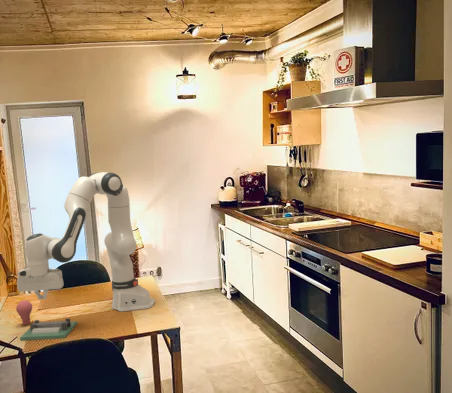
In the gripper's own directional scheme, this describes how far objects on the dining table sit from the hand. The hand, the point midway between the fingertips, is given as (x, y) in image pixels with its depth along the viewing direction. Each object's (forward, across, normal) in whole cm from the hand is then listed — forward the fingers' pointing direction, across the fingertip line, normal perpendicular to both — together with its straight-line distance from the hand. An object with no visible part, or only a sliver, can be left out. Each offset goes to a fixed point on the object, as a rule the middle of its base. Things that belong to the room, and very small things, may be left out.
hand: (42, 299), depth 210 cm
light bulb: (+16, +14, -11) cm, 24 cm away
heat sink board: (+16, -2, 0) cm, 16 cm away
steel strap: (+13, -2, 0) cm, 13 cm away
